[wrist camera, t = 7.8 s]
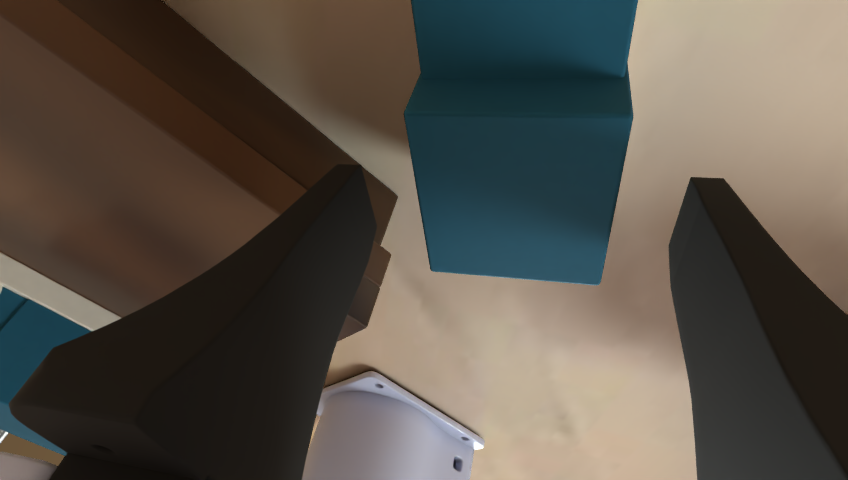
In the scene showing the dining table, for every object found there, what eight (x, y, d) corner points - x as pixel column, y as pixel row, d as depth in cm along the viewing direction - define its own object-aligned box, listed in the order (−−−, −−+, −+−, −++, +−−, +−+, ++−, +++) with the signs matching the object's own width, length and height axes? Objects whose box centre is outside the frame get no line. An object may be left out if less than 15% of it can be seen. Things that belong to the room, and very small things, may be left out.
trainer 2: (600, 176, 16) (603, 289, 13) (454, 171, 17) (426, 274, 14) (650, -134, 10) (676, -61, 7) (426, -113, 11) (369, -41, 8)
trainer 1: (167, 342, 22) (101, 445, 19) (134, 366, 25) (73, 459, 22) (-31, 234, 19) (-148, 338, 16) (-42, 277, 22) (-142, 372, 19)
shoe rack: (83, -73, 14) (-102, 16, 10) (410, 200, 18) (367, 328, 15) (-11, 231, 26) (-107, 318, 23) (197, 345, 31) (145, 433, 27)
